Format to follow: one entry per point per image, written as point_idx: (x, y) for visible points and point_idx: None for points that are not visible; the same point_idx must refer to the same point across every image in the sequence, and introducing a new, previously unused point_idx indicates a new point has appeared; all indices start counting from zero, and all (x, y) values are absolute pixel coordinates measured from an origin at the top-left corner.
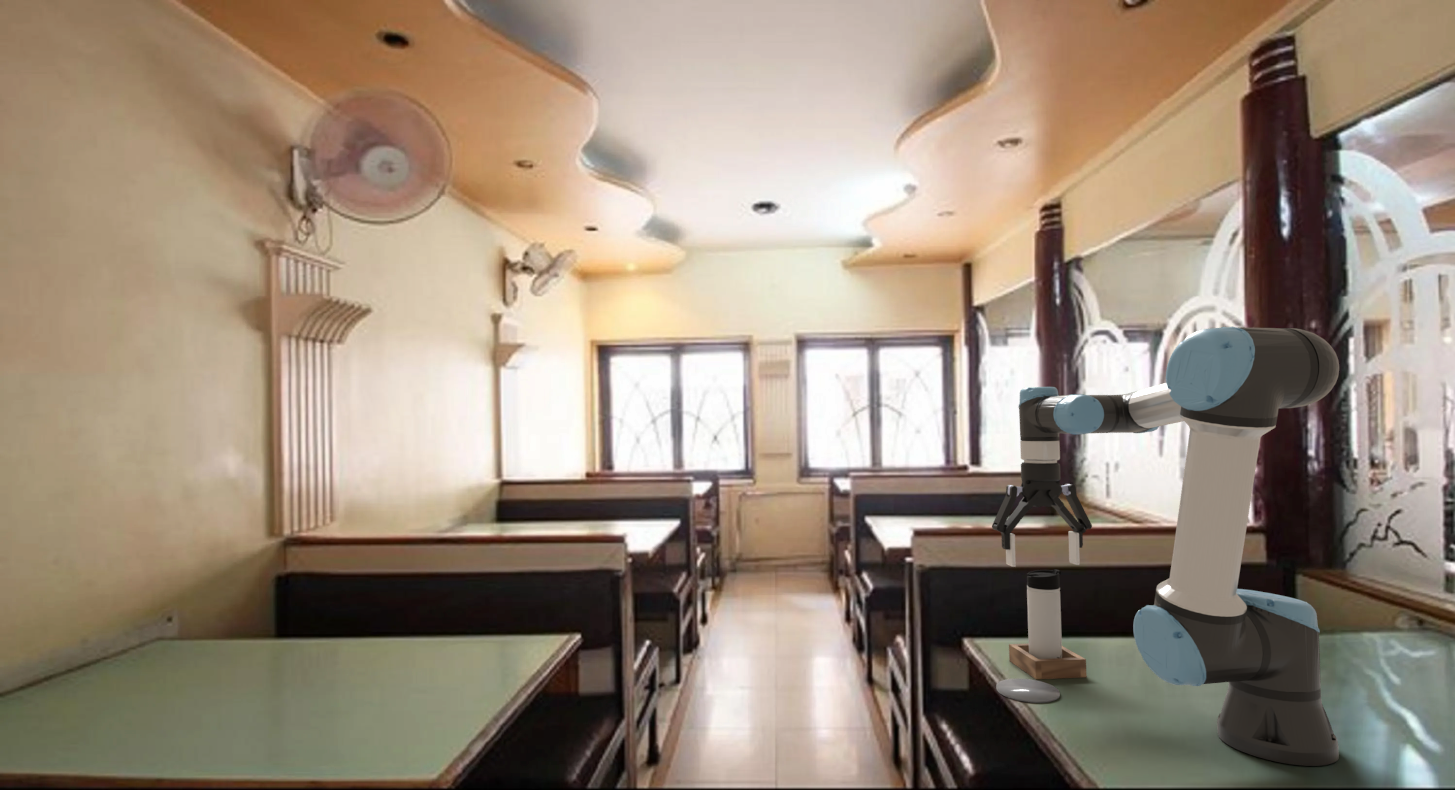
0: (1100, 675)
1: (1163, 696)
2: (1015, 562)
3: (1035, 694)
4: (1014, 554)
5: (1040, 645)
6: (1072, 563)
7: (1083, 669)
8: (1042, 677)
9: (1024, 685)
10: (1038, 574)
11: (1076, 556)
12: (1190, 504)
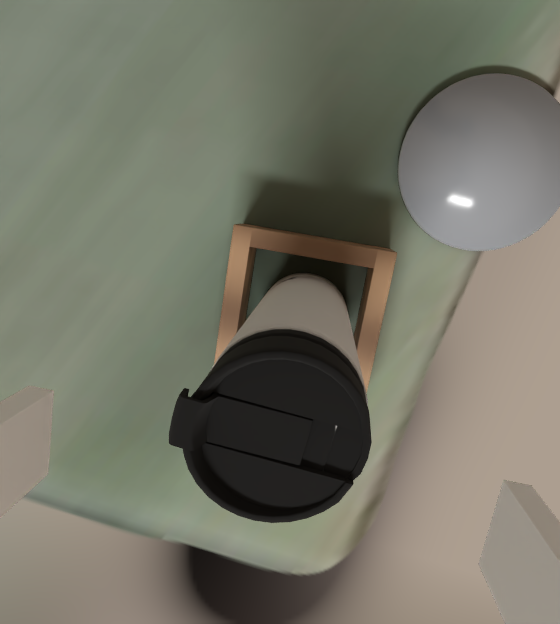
0: (195, 227)
1: (147, 34)
2: (516, 498)
3: (498, 114)
4: (555, 542)
5: (341, 304)
6: (49, 437)
7: (247, 225)
8: (370, 245)
9: (476, 190)
10: (288, 462)
11: (11, 414)
12: None
